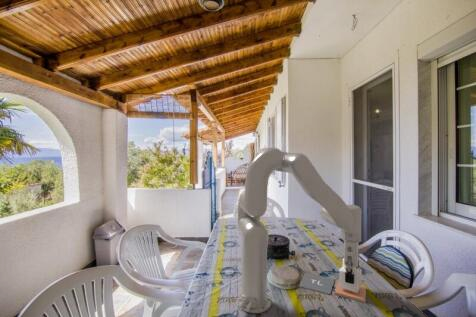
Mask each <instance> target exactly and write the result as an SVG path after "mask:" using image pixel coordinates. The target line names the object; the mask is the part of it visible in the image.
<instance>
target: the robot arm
mask: <svg viewBox="0 0 476 317" xmlns="http://www.w3.org/2000/svg"><path fill="white" fill-rule="evenodd" d="M275 171H277V172H283V173H289V174H291V175H292V176H293V177H294V179H295V180H296V181H297V183H298V185H299V186H300V187H301V189H302V190H303V191H304V193H305V194H306V195H307V196H308V197H309V198H310V199H312V200H313V201H315V202H316V203H317V204H319V205H320V207H321V209H320V211H319V213H320V214H319V215H320V217H321V219H322V220H323V221H325V222H326V223H328V224H330V225H333V226H335V227H336V228H338V229H340V239H341V240H342V241H343V257H344V264H345V265H346V272H345V282H346V283H350V284H354V274H353V270H354V267H356V268H357V267H358V260H359V257H360V256H359V249H360V248H359V243H360V242H362V209H361V206H359V205H357V204H356V205H355V204H346V202H345V201H344V200H343V198H342V197H340V195H339V194H338V193H336V192H337V191H334V190H333V189H332V187H331V186H330V185H328V184H327V183H326V182H325V180H324V179H323V177H322V176H321V175H320V173H319V172H318V170H317V169H316V168H315V165H313V163H312V161H311V160H310V159H309V158H308V156H306V154H304V153H301V152H287V151H286V152H285V151H282V150H281V149H279V148H277V147H264V148H260V149H259V150H258V151H257V152H256V153H255V156H254V159H253V160H252V161H251V162H250V164H249V166H248V167H247V171H246V174H245V183H244V190H243V191H242V192H241V193H240V194H239V197H238V204H237V230H238V233H239V235H240V236H241V238H242V246H241V247H242V248H241V294H240V295H239V296H238V298H237V304H238V305H237V310H238V311H240V312H242V311H244V312H246V313H249V314H250V313H251V314H261V313H265V312H266V311H268V310H269V309H271V305H272V299H271V297H270V296H269V295H268V245H269V232H268V231H269V230H268V229H267V227H266V225H264V223H263V222H262V221H261V217H262V216H264V215H265V213H266V212H267V208H268V186H269V180H270V177H271V175H272V173H273V172H275ZM351 259H352V260H351ZM359 261H360V260H359ZM351 264H353V266H352V265H351ZM351 267H352V269H351Z"/></svg>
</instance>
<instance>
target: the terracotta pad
mask: <svg viewBox="0 0 476 317" xmlns="http://www.w3.org/2000/svg"><path fill="white" fill-rule="evenodd" d="M334 295H335V296H339V297H343V298H345V299H351V300H353V301H356V302H362V303H366V301H367V300H366V298H367V297H366V296H367V286H366V285H363V284H362V286H361V287H360V289H359V291H358V293H355V292H352V291H349V290H347V289H344V288H341V287H339V279H337V282H336V286H335V289H334Z"/></svg>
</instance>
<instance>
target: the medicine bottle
mask: <svg viewBox="0 0 476 317" xmlns="http://www.w3.org/2000/svg"><path fill="white" fill-rule="evenodd" d="M351 260H352V259H351ZM351 265H352V266H353V264H351ZM359 266H360V260H358V267H357V268H356V267H354V270H353V274H354V284H350V283H346V282H345V272H346V265H345V264H344V256H342V266H341V267H340V268H339V269H338V280H339V287H341V288H344V289H347V290H349V291H352V292H355V293H358V291H359V289H360V287H361V286H362V285H363V284H362V283H363V282H362V280H363V278H362V276H363V274H362V273H363V269H362V268H359ZM351 269H352V267H351Z"/></svg>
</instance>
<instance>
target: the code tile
mask: <svg viewBox="0 0 476 317" xmlns="http://www.w3.org/2000/svg"><path fill="white" fill-rule="evenodd" d="M299 283H300V285H299V284H298V285H299V286H298V287H299V288H303V289H306V290H310V291H314V292H318V293H322V294H326V295H329V296H330V295H331V294H332V290H333V288H332V287H334V283H335V279H334V278H331V277H326V276H321V275H318V274H313V273H310V272H305V273H304V274H303V276H302V278H301V279H300V281H299Z"/></svg>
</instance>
